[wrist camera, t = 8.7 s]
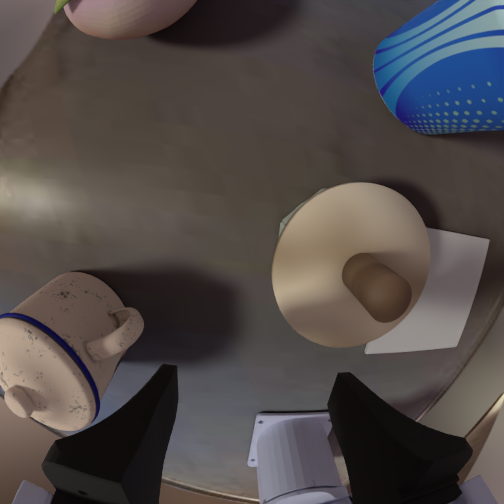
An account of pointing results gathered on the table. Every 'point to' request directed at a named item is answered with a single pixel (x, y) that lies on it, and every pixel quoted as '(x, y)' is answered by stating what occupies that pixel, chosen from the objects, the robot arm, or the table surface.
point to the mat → (440, 296)
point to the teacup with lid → (64, 350)
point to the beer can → (446, 68)
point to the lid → (350, 264)
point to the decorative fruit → (123, 16)
